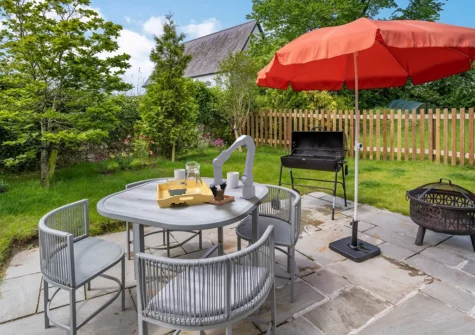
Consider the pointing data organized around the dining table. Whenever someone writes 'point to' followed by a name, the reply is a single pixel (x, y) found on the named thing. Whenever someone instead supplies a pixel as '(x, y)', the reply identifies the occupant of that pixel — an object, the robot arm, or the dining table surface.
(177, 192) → the food container
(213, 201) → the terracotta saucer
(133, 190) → the dining table surface
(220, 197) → the walnut block
